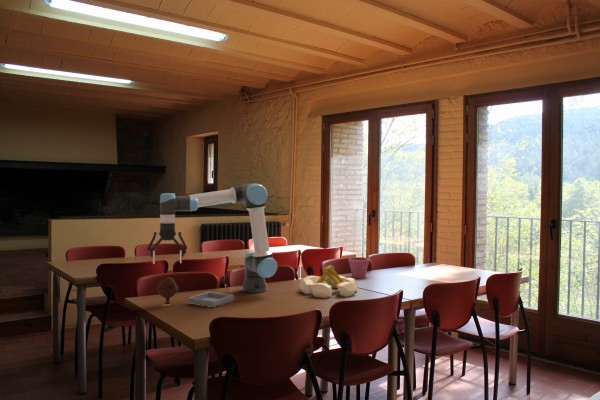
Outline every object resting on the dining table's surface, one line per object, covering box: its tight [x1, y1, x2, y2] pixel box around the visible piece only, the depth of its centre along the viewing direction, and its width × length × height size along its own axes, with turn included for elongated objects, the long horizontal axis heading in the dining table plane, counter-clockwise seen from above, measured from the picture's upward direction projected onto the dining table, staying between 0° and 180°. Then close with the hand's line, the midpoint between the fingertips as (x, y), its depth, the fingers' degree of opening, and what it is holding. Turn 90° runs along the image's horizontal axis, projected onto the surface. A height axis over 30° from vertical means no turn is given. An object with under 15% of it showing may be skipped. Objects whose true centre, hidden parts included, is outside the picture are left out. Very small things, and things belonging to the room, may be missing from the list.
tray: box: [187, 291, 235, 307], centre depth 266 cm, size 17×17×4 cm
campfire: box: [298, 264, 359, 299], centre depth 296 cm, size 35×34×17 cm
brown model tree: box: [156, 276, 179, 304], centre depth 260 cm, size 11×11×15 cm
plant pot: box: [348, 257, 370, 279], centre depth 345 cm, size 14×14×13 cm
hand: (167, 263), depth 259 cm, fingers open, 13 cm apart
